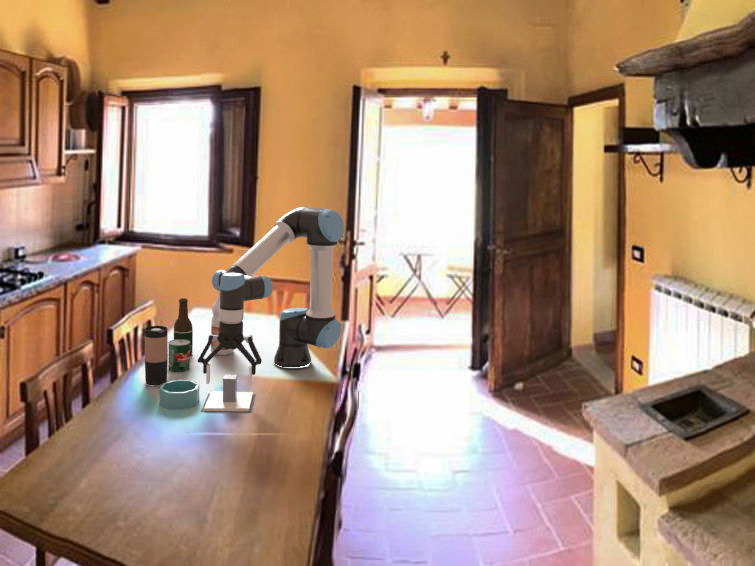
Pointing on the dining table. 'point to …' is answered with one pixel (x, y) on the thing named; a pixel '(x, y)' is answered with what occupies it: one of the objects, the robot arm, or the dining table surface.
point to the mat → (232, 411)
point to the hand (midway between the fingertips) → (229, 383)
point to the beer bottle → (183, 324)
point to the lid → (229, 397)
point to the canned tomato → (179, 356)
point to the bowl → (179, 394)
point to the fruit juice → (217, 327)
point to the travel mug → (156, 355)
